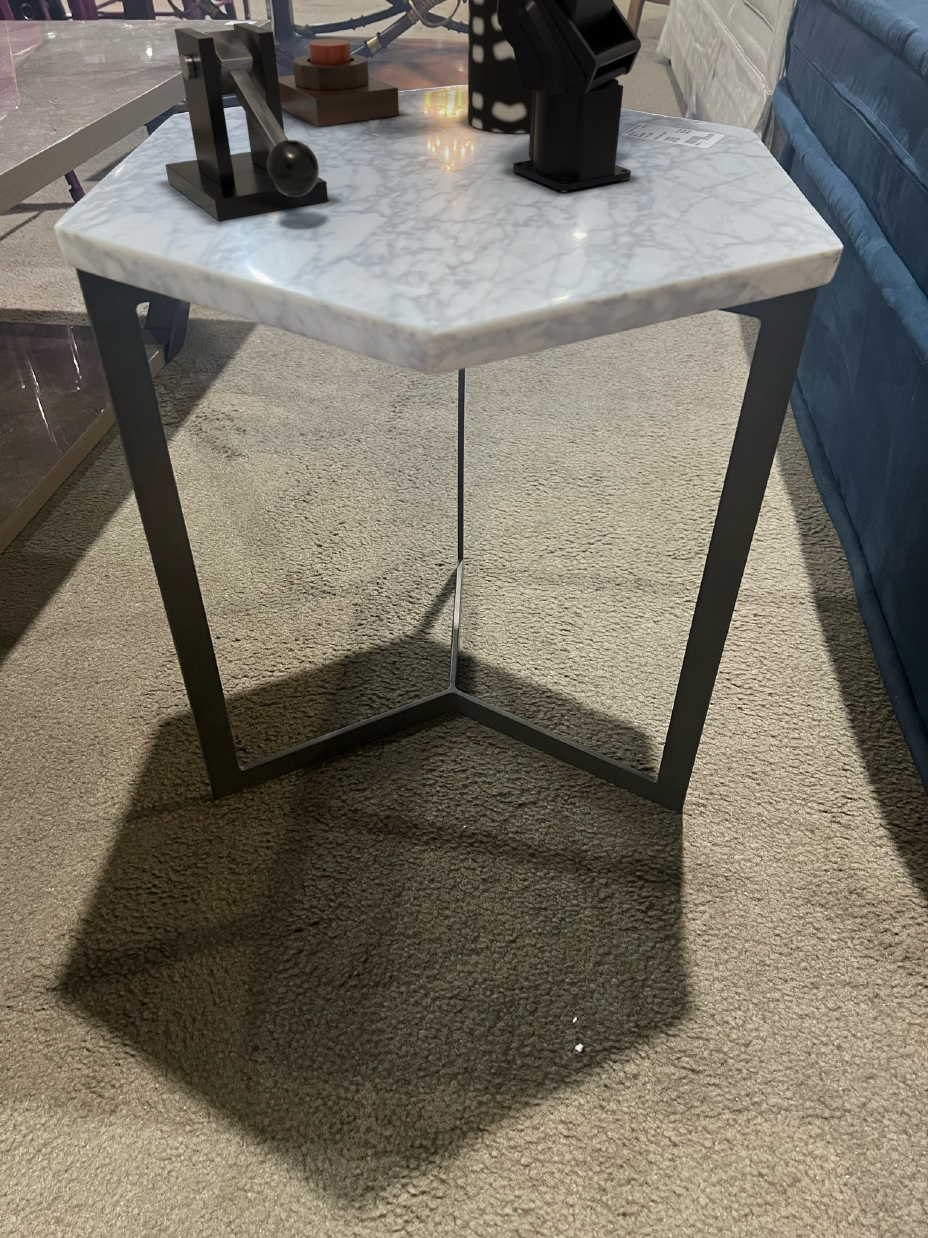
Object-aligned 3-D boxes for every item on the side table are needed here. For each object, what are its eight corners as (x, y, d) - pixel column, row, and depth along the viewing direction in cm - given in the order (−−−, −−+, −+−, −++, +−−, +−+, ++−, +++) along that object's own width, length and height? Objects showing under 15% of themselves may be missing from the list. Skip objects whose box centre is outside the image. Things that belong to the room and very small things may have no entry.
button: (358, 65, 82) (356, 43, 81) (321, 70, 81) (319, 46, 80) (340, 59, 84) (338, 37, 83) (303, 63, 83) (301, 40, 82)
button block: (399, 115, 83) (397, 63, 81) (318, 126, 80) (313, 73, 77) (348, 94, 90) (345, 46, 87) (272, 104, 86) (266, 54, 84)
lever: (324, 203, 59) (330, 160, 56) (278, 211, 58) (281, 168, 55) (241, 68, 63) (243, 21, 60) (196, 73, 62) (195, 26, 59)
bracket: (328, 201, 64) (313, 35, 58) (218, 220, 61) (189, 47, 54) (270, 166, 70) (252, 14, 64) (168, 183, 67) (137, 24, 61)
